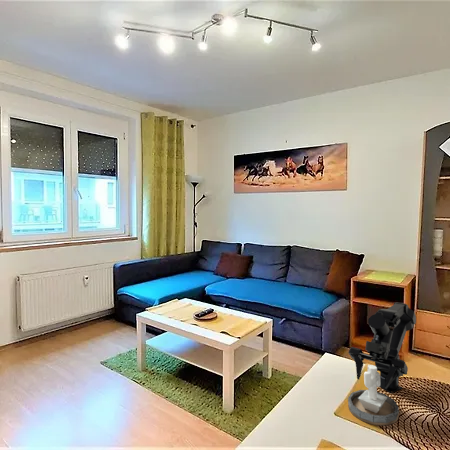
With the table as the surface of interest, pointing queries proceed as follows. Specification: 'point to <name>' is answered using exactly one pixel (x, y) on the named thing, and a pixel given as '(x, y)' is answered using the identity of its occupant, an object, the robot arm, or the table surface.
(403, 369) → the robot arm
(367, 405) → the figurine
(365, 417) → the round grey tray
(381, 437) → the table surface
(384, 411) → the brown round plate
